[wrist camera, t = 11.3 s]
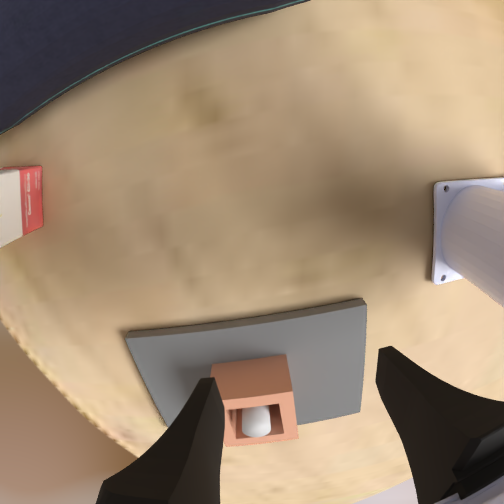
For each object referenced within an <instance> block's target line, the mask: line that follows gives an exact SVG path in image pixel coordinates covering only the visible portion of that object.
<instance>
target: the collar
mask: <svg viewBox="0 0 504 504" xmlns="http://www.w3.org/2000/svg"><path fill="white" fill-rule="evenodd" d="M210 377H215V380H216V383H217V386H218V389H219V392H220V395H221V398H222V401H223V404H224V407H225V431H224V440H223V441H224V444H225V446H226V447H230V446H243V445H253V444H263V443H271V442H279V441H286V440H292V439H298V438H299V437H298V429H297V421H296V413H295V405H294V397H293V390H292V384H291V378H290V373H289V367H288V362H287V356H286V354H284V355H277V356H271V357H264V358H257V359H250V360H243V361H235V362H226V363H217V364H212V368H211V375H210ZM265 405H269V412H270V424H271V431H270V432H269V433H268V434H267V435H265V436H262V437H250V436H247V435H245V434H244V433H243V432H242V408H248V407H257V406H265Z"/></svg>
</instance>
